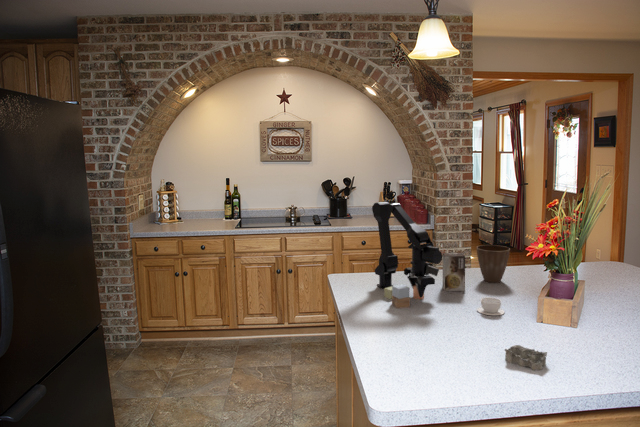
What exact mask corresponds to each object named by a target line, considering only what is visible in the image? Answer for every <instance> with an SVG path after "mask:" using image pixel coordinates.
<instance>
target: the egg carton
mask: <svg viewBox="0 0 640 427" xmlns="http://www.w3.org/2000/svg"><path fill="white" fill-rule="evenodd" d="M504 351H505V359H504V360H505V361H507V363H509V364H518V365H519V367H529V368H530V369H531V370H533V371H536V370H537V371H538V370H540V371H541V370H542V369H543V366H546V365H547V364H546V363H547V362H546V360H547V355H548V351H547V352H546V351H545V352H543V351H539V350H535V349H534V348H533V349H531V348H528V347H524V346H522V345H519V344H517V345H515V344H514V345H512V346H510V347H509V348H508V349H507V348H505V349H504Z"/></svg>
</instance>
